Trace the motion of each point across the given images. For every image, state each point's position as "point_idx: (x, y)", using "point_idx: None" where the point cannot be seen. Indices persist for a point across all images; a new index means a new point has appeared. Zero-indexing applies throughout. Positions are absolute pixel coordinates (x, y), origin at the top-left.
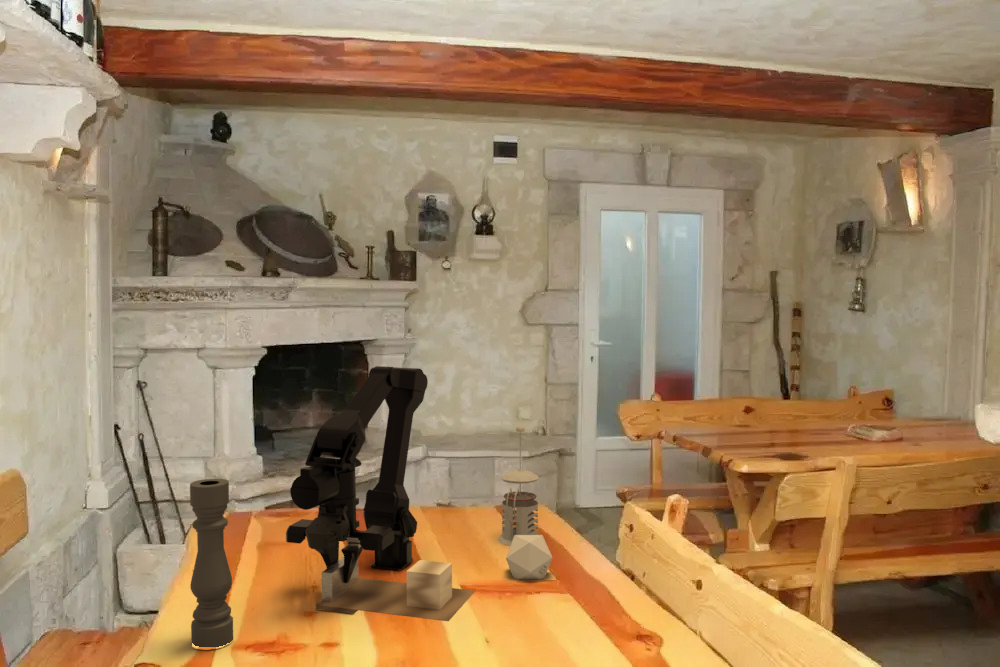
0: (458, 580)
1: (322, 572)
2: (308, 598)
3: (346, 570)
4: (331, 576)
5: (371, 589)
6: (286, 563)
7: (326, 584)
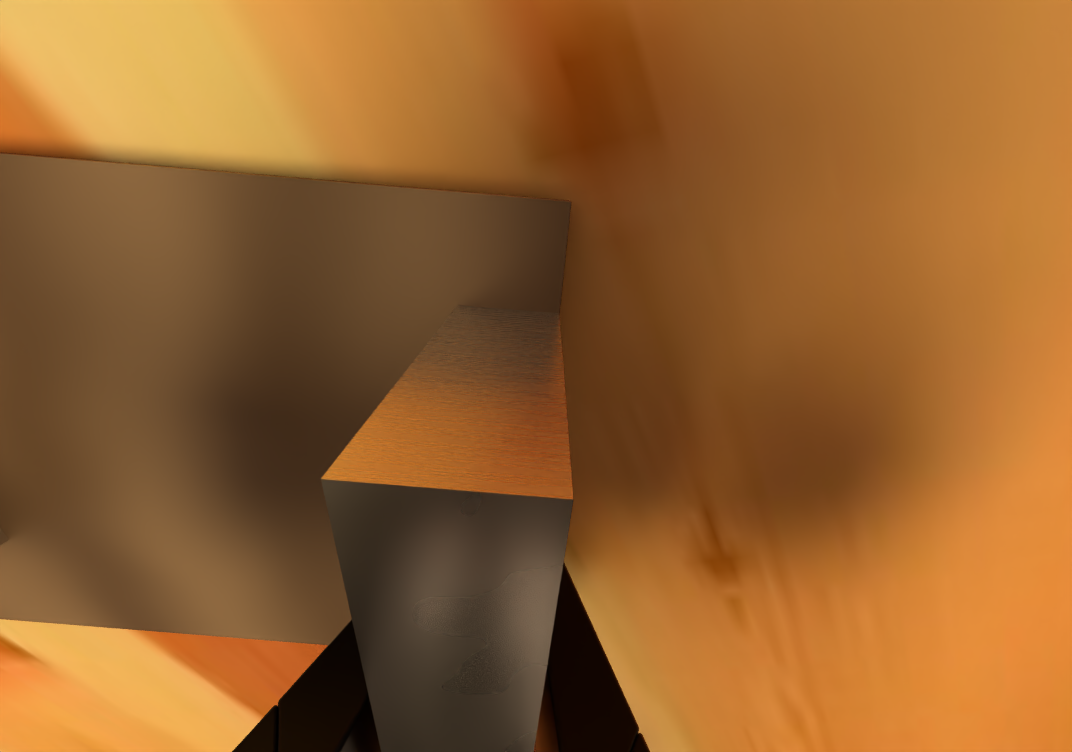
0: (84, 686)
1: (551, 494)
2: (708, 407)
3: (347, 653)
4: (363, 436)
5: (319, 545)
6: (929, 743)
7: (492, 375)
